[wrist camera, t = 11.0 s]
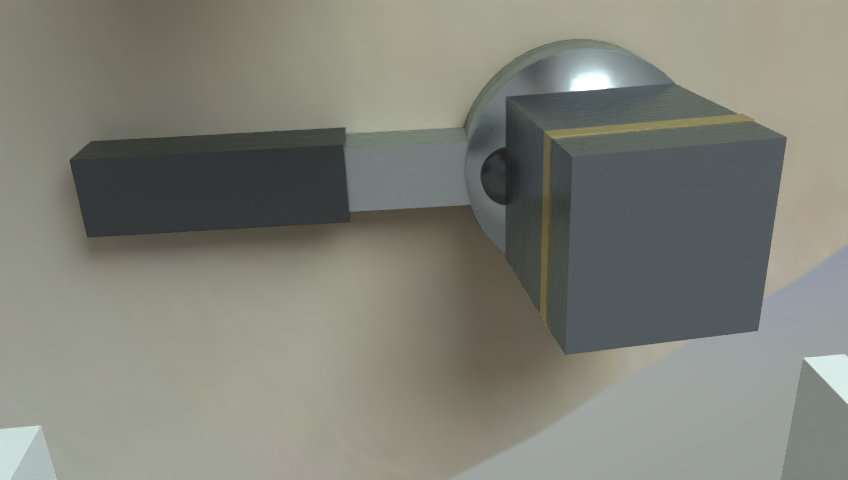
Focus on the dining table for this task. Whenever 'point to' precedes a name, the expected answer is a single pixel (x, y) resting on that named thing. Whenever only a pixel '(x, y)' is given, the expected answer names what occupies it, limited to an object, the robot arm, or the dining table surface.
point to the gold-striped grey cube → (639, 214)
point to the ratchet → (335, 161)
